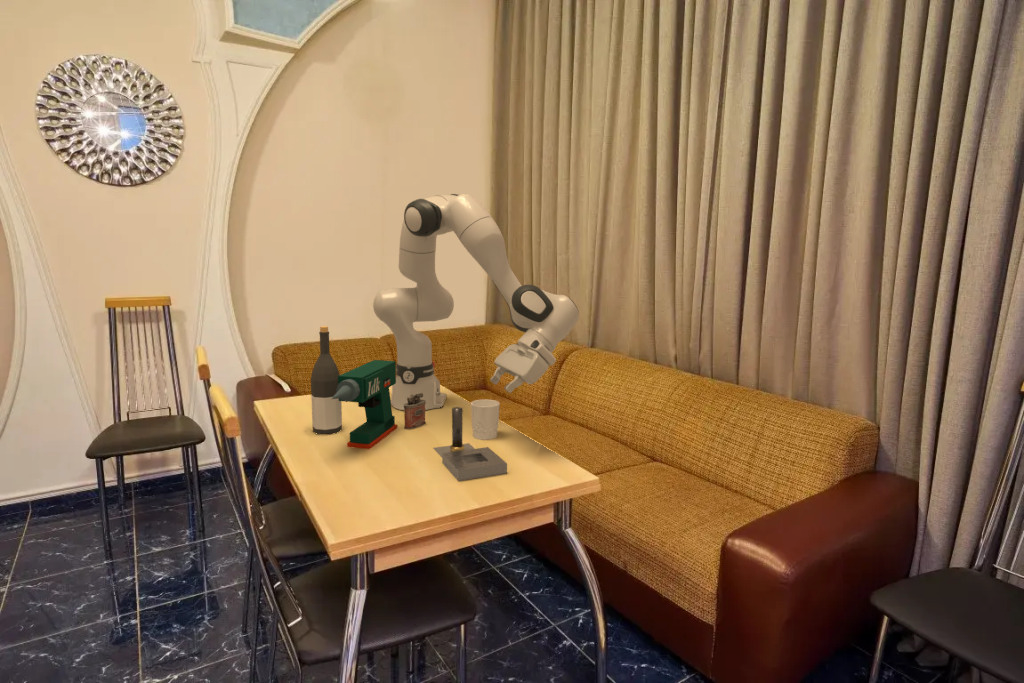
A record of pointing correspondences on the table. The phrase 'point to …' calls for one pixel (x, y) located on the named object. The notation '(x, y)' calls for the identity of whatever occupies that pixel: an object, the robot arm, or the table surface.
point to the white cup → (485, 418)
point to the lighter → (414, 411)
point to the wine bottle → (325, 390)
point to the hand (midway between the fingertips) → (499, 386)
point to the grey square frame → (474, 463)
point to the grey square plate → (447, 449)
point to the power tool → (369, 400)
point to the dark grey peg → (456, 430)
